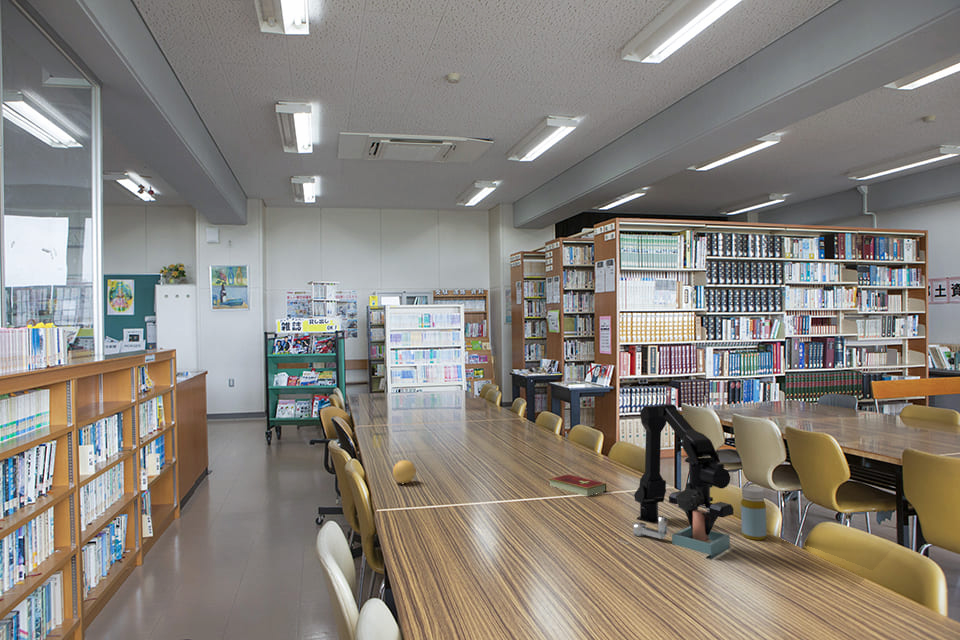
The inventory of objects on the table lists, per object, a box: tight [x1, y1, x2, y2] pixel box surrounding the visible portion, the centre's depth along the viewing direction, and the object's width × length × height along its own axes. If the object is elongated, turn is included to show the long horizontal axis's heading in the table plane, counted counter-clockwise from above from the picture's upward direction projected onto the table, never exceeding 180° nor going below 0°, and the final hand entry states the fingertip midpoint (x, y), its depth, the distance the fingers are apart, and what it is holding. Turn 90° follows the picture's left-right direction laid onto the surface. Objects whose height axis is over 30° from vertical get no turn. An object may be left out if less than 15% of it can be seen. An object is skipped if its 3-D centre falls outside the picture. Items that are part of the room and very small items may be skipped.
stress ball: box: [392, 459, 417, 484], centre depth 251 cm, size 10×10×10 cm
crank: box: [632, 515, 668, 540], centre depth 177 cm, size 11×4×7 cm, turn 43°
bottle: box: [740, 485, 767, 541], centre depth 181 cm, size 7×7×15 cm
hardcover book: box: [548, 473, 608, 497], centre depth 239 cm, size 12×21×4 cm, turn 40°
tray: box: [671, 525, 731, 560], centre depth 171 cm, size 12×12×4 cm
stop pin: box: [692, 509, 709, 543], centre depth 172 cm, size 4×4×8 cm
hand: (700, 532), depth 172 cm, fingers closed on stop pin, 4 cm apart
